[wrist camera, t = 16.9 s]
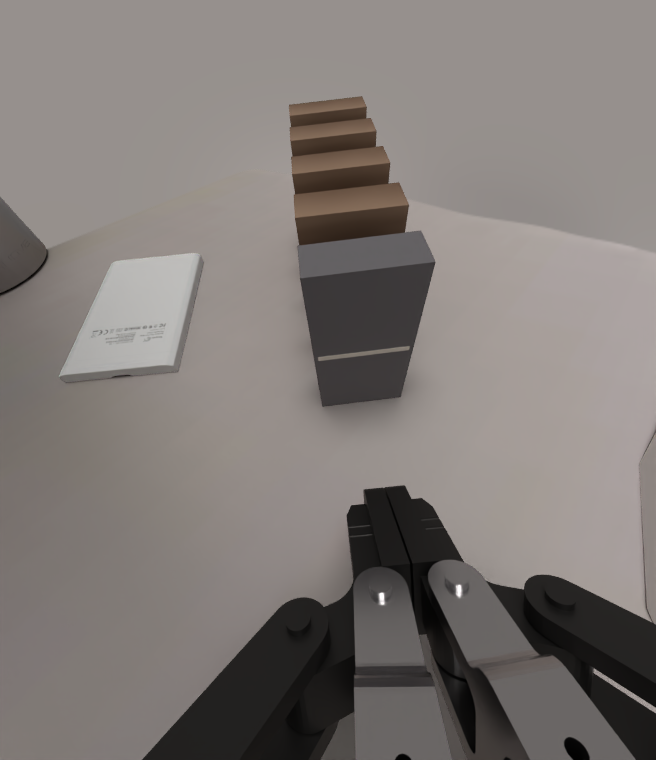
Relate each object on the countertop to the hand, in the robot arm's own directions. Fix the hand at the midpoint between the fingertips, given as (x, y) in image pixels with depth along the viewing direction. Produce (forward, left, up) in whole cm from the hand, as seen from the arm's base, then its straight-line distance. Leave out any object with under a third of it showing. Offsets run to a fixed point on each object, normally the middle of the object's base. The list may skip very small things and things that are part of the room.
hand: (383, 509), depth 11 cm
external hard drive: (-21, +11, -6) cm, 25 cm away
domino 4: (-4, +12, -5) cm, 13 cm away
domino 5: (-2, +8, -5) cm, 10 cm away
